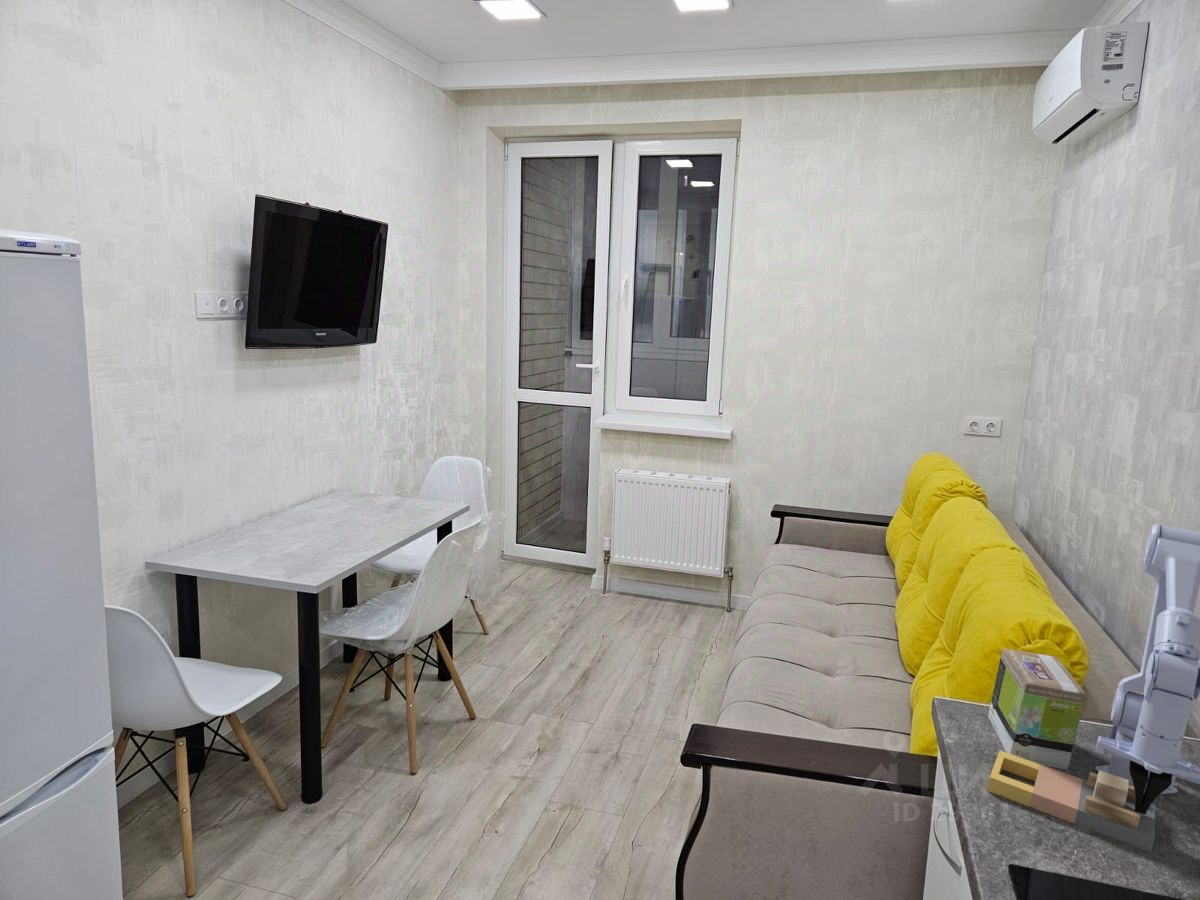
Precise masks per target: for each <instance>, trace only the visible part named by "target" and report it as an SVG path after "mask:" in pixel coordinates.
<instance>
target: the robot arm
mask: <svg viewBox="0 0 1200 900" xmlns="http://www.w3.org/2000/svg"><path fill="white" fill-rule="evenodd" d="M1146 540H1147V541H1146V547H1145V552H1144V553H1145V554H1144V558H1143V571H1144V573H1145V572H1146V573H1147V574H1148V575H1149V576H1152V577H1153V581H1154V589H1155V590H1154V592H1155V593H1154V597H1153V602H1152V608H1151V614H1150V619H1149V624H1148V630H1147V635H1146V640H1145V644H1144V650H1143V655H1142V662H1141V667H1140V672H1139V673H1135V674H1134V675H1131V676H1130V675H1129V676H1127V677H1124V678H1121V680H1120V681H1119V682H1118V684H1117V687H1116V692H1115V694H1114V697H1113V701H1112V707H1111V714H1110V721H1111V722H1112V723H1113V724H1114V725H1116V726H1118V730H1117V734H1116V738H1115V740H1113V739H1110V738H1107V737H1103V736H1101V735H1099V736H1098V737H1097V742H1096V746H1095V752H1096V753H1097V754H1100V755H1104V754H1106V755H1109V756H1110V760H1109V763H1108V765H1099V766H1095V767H1094V770H1095V771H1097V772H1099V770H1100V771H1103V772H1106V773H1109V774H1112V775H1115V776H1118V777H1121V778H1124V779H1127V780H1129V781H1128V785H1131V786H1133V787H1134V790H1135V797H1136V802H1135V811H1136V812H1139V813H1142V814H1145V815H1146V812H1147V810H1148V808H1149V807H1150V805H1151V804H1153V802H1154V801H1155V800H1156V799H1157V798H1158V797H1159V796H1160V795H1167V794H1169V795H1170V794H1177V793H1178V788H1176V787H1174V786H1175V782H1176V778H1180V779H1182V780H1185V781H1188V782H1192V783H1195V784H1197V785H1200V767H1199V766H1197V765H1195V764H1193V763H1190V762H1188V761H1186V760H1184V759H1181V758H1182V752H1181V749H1182V743H1183V740H1184V736H1185V732H1186V729H1187V724H1188V720H1189V717H1190V713H1191V709H1192V706H1193V701H1194V700H1196V701H1197V700H1198V699H1199V698H1200V697H1199V696H1200V618H1199V617H1198V616H1197V615H1196V614H1195V609H1196V604H1197V601H1198V595H1199V590H1200V531H1195V530H1190V529H1185V528H1179V527H1174V526H1168V525H1162V524H1161V523H1155V524H1153V525H1151V527H1150V529H1149V533H1148V537H1147V539H1146ZM1133 690H1134V691H1138V692H1133ZM1139 692H1142V693H1143V694H1140V693H1139ZM1193 699H1194V700H1193Z"/></svg>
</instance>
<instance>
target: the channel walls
mask: <svg viewBox="0 0 1200 900" xmlns="http://www.w3.org/2000/svg"><path fill="white" fill-rule="evenodd" d="M1097 776H1098V773H1096V772H1092V771H1089V776H1088V778H1087V781H1088V783H1087V786H1090V787H1093V788H1095V785H1096V781H1097ZM1126 799H1127V800H1130V801H1133V802H1136V797H1135V790H1134V787H1133V786H1131V785H1128V794H1127V798H1126ZM1084 810H1085V811H1088V812H1091V813H1093V814H1096V815H1099V816H1101V817H1104V818H1107V819H1110V820H1112V821H1115V822H1118V823H1121V824H1123V825H1126V826H1129V827H1131V828H1134V829H1137V828H1138V824H1139V820H1140V814H1138V813H1135V812H1132V811H1129V810H1126V809H1124V808H1121V807H1118V806H1115V805H1112V804H1110V803H1107V802H1104V801H1101V800H1098V799H1096V798H1093V797H1090V796H1086V800H1085V805H1084Z"/></svg>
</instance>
